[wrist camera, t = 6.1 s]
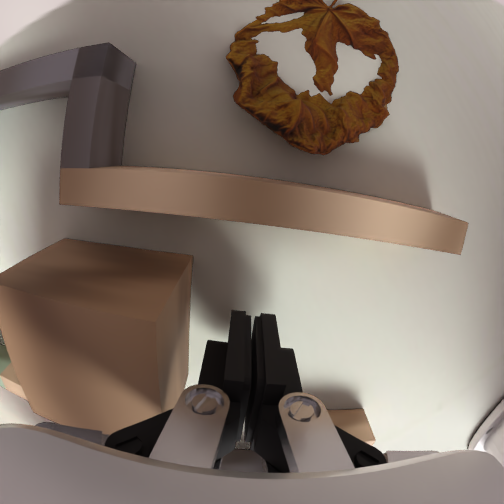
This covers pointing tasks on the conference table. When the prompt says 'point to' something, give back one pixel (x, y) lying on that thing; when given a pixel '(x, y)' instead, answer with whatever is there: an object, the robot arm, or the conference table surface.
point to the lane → (196, 186)
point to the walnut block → (98, 332)
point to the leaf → (325, 58)
